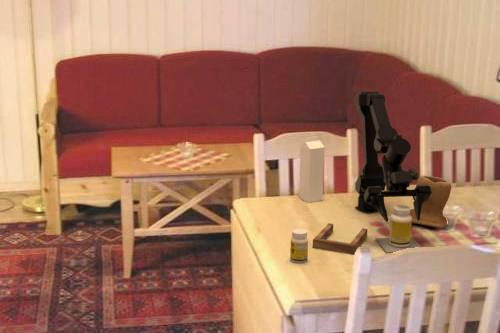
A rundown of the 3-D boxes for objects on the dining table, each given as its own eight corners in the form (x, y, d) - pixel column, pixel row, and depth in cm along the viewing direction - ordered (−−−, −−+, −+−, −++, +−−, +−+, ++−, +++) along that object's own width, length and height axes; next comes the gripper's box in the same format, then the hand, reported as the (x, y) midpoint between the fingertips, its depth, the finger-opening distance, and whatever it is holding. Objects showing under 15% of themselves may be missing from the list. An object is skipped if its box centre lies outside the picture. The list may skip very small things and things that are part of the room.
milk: (322, 200, 254) (325, 138, 249) (308, 203, 252) (310, 139, 246) (312, 195, 260) (315, 134, 254) (298, 198, 257) (300, 136, 251)
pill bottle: (414, 246, 212) (417, 210, 209) (395, 249, 210) (397, 212, 207) (403, 239, 218) (405, 203, 215) (384, 241, 216) (386, 205, 213)
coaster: (375, 240, 219) (375, 238, 218) (411, 238, 220) (411, 236, 220) (386, 254, 208) (386, 252, 208) (424, 252, 209) (424, 250, 209)
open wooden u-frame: (328, 231, 226) (328, 223, 225) (367, 236, 221) (367, 228, 220) (312, 247, 212) (312, 239, 212) (353, 254, 208) (353, 246, 207)
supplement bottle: (289, 256, 206) (289, 228, 203) (305, 256, 206) (306, 227, 204) (291, 263, 201) (292, 234, 199) (308, 263, 201) (309, 234, 199)
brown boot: (454, 222, 235) (458, 176, 231) (441, 233, 225) (445, 185, 221) (409, 213, 243) (412, 168, 239) (394, 223, 233) (397, 177, 229)
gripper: (368, 159, 210) (377, 208, 202) (432, 157, 212) (443, 206, 205) (360, 178, 220) (368, 226, 212) (421, 176, 222) (431, 224, 214)
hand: (402, 220), depth 210 cm, fingers open, 9 cm apart
